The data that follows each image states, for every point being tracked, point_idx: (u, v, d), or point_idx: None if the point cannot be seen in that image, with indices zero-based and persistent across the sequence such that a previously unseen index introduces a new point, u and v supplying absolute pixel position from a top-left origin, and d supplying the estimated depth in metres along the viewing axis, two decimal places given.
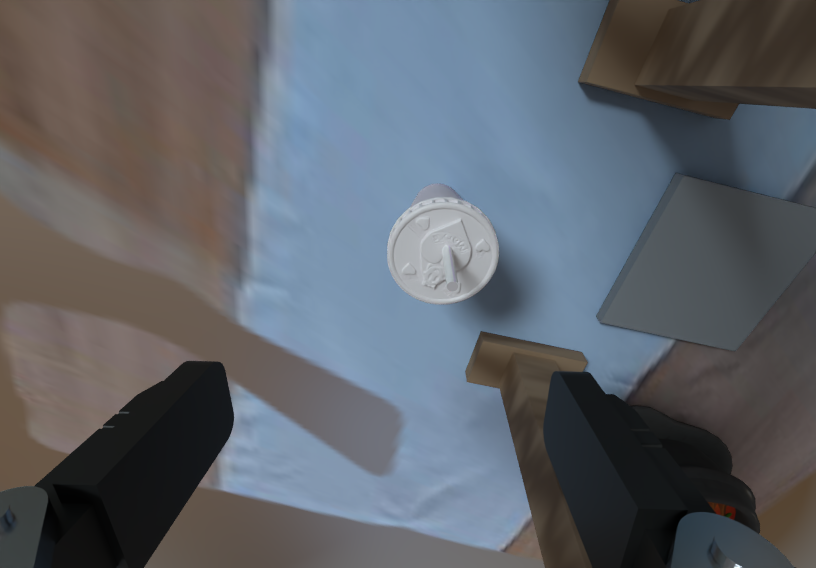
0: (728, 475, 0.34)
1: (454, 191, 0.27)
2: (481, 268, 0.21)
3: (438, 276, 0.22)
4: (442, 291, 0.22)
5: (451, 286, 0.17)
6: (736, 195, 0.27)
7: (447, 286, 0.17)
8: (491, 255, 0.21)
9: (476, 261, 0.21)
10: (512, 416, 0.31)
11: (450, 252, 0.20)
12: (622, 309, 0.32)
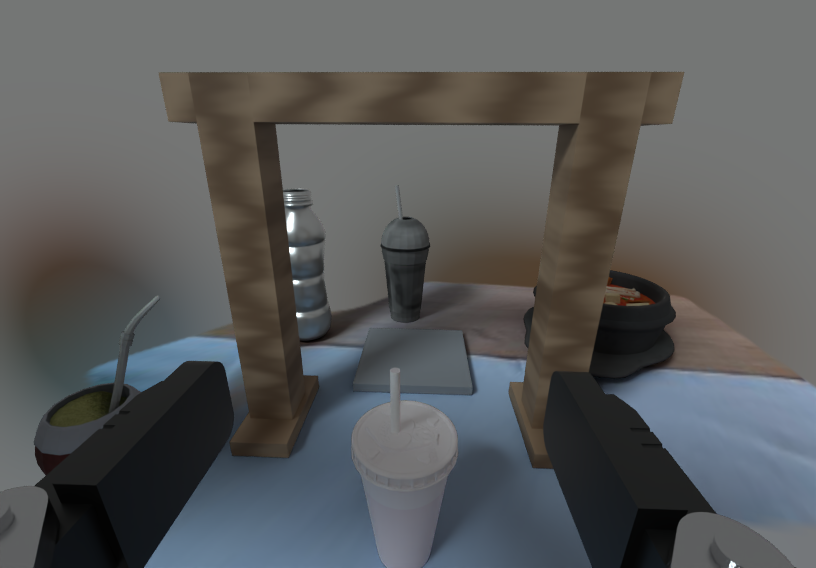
0: (534, 292, 0.52)
1: None
2: (409, 408, 0.25)
3: (423, 431, 0.22)
4: (440, 429, 0.23)
5: (396, 372, 0.21)
6: (362, 361, 0.45)
7: (395, 372, 0.21)
8: None
9: (403, 412, 0.24)
10: None
11: (391, 417, 0.22)
12: (456, 380, 0.42)
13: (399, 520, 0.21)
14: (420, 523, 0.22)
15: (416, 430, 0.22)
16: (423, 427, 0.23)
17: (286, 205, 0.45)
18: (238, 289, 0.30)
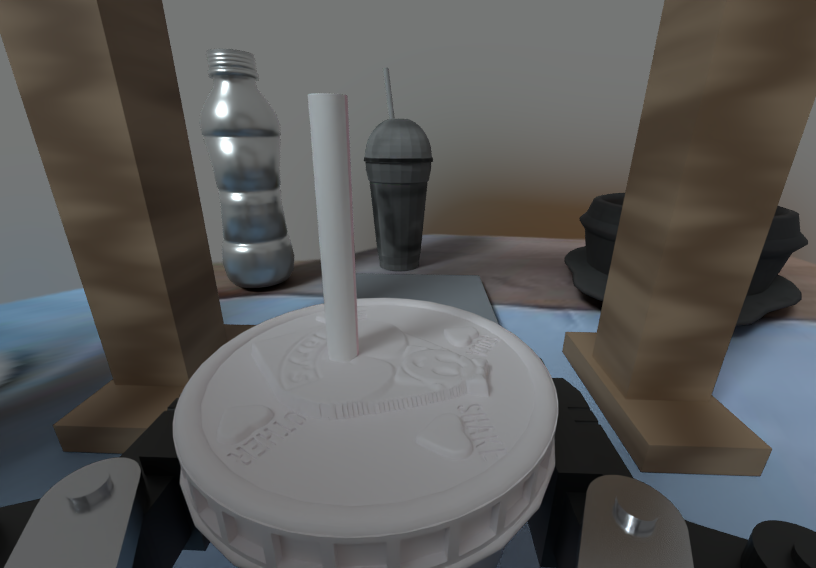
0: (581, 220, 0.37)
1: None
2: (393, 312, 0.09)
3: (436, 356, 0.07)
4: (487, 353, 0.07)
5: (334, 103, 0.05)
6: None
7: (328, 94, 0.05)
8: (357, 305, 0.09)
9: (376, 319, 0.09)
10: (718, 313, 0.17)
11: None
12: None
13: None
14: None
15: (412, 353, 0.07)
16: (434, 347, 0.07)
17: (214, 71, 0.29)
18: (48, 109, 0.15)
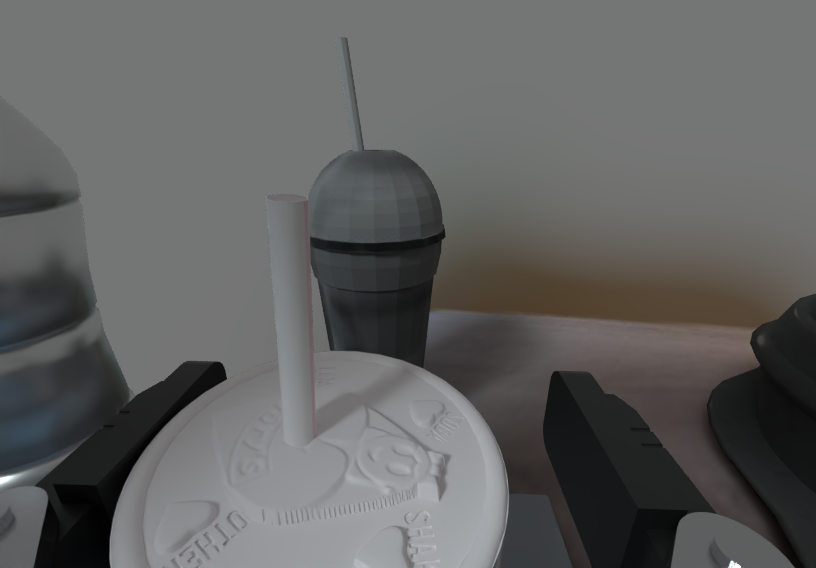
0: (779, 378, 0.16)
1: None
2: (363, 372, 0.09)
3: (394, 445, 0.07)
4: (447, 438, 0.07)
5: (292, 206, 0.05)
6: None
7: (285, 202, 0.05)
8: (327, 360, 0.09)
9: (344, 381, 0.08)
10: None
11: None
12: None
13: None
14: None
15: (370, 439, 0.07)
16: (395, 430, 0.07)
17: None
18: None
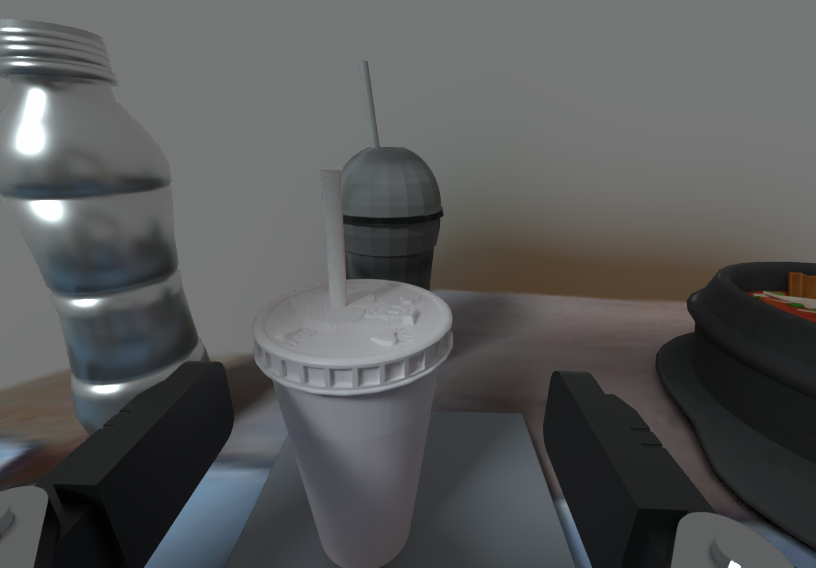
0: (700, 321, 0.21)
1: None
2: (372, 287, 0.14)
3: (390, 306, 0.12)
4: (421, 307, 0.13)
5: (333, 174, 0.11)
6: (242, 554, 0.14)
7: (330, 171, 0.11)
8: (350, 283, 0.15)
9: None
10: None
11: None
12: None
13: (339, 464, 0.11)
14: (380, 474, 0.12)
15: (377, 305, 0.12)
16: (391, 303, 0.13)
17: (0, 66, 0.14)
18: None
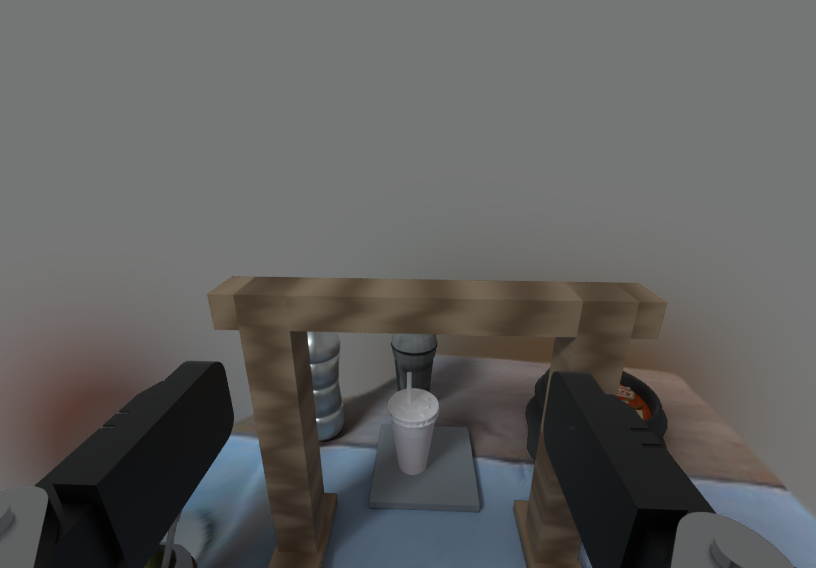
0: (535, 391, 0.56)
1: None
2: (415, 392, 0.48)
3: (422, 402, 0.46)
4: (430, 402, 0.47)
5: (410, 374, 0.45)
6: (377, 471, 0.49)
7: (409, 374, 0.45)
8: None
9: (413, 394, 0.48)
10: (574, 530, 0.36)
11: (407, 395, 0.46)
12: (464, 496, 0.45)
13: (410, 443, 0.45)
14: (420, 446, 0.46)
15: (419, 402, 0.46)
16: (422, 401, 0.47)
17: None
18: (271, 453, 0.34)
